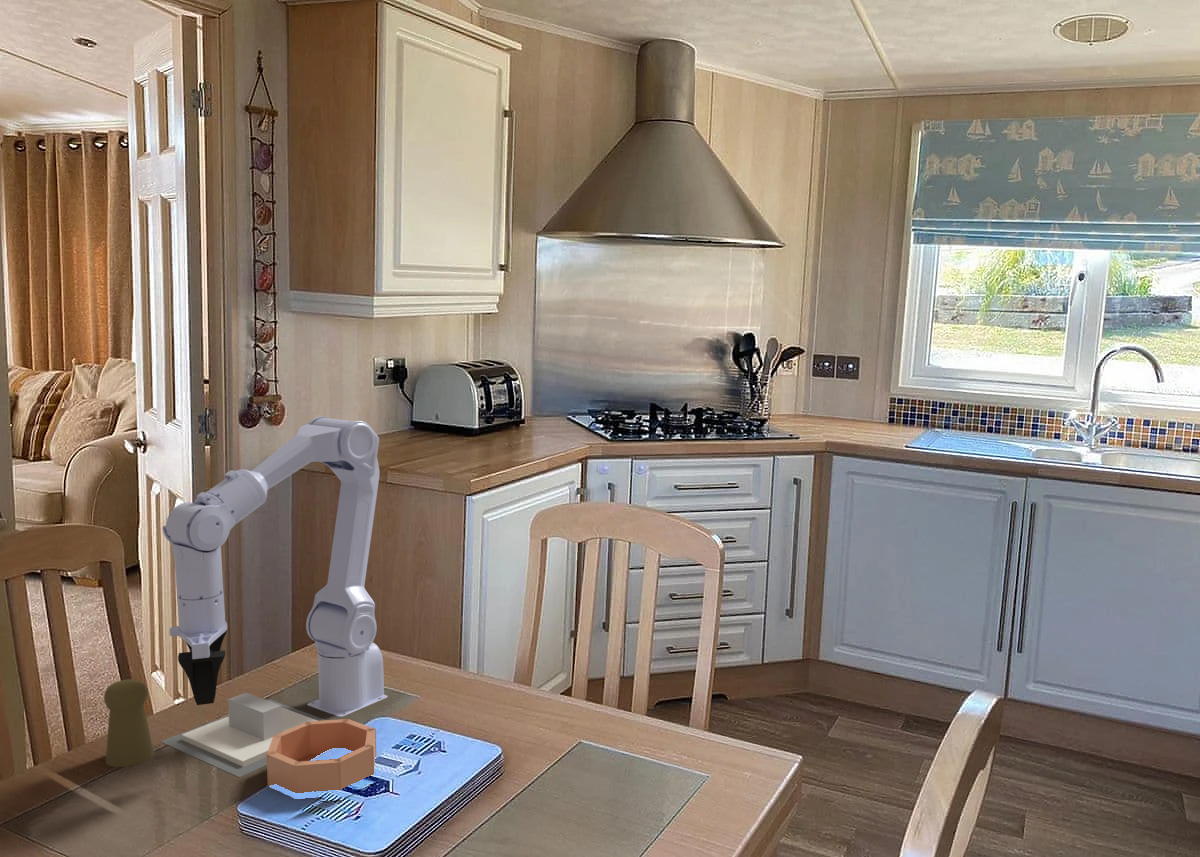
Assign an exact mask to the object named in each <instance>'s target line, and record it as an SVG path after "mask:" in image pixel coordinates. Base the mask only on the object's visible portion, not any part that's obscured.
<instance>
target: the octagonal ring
mask: <svg viewBox="0 0 1200 857" xmlns="http://www.w3.org/2000/svg"><path fill="white" fill-rule="evenodd" d="M376 730H377V729H376V728H374V727H371V726H369V725H365V724H363V723H361V722H357V721H354V720H352V719H349V718H341V719H338V718H337V719H328V720H327V719H324V721H309V722H308V721H307V722H305V723H302V724H300V725H298V726H295V727H293V728H291V729H288V730H286V731H284V732H281V733H279V734H276V735H273V738H272V741H271V744H270V747H269V750H268V753H267V754H266V756H267V765H266V772H267V773H266V774H267V775H266V776H267V787H268V786H270V785H274V784H277V785H279V786H281V787H284V788H285V789H288V790H290V791H292V792H295V793H304V792H312V791H314V792H316V791H328V790H342V789H343V788H345V787H347V786H348V785H351V784H353V783H356V782H358V781H360V780H362V779H364V778H366V777H369V776H371V775H373V774H374V766H375V767H376V765H375V757H376V758H377V736H376V735H377V732H376ZM332 748H346V749H348V750H351V751H353V752H351V753H348V754H346V755H344V756H342V757H340V758H338V759H329V760H316V761H310V760H311V759H313V758H315V757H316V756H317V755H320V754H321V753H323V752H325V751H327V750H329V749H332Z"/></svg>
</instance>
